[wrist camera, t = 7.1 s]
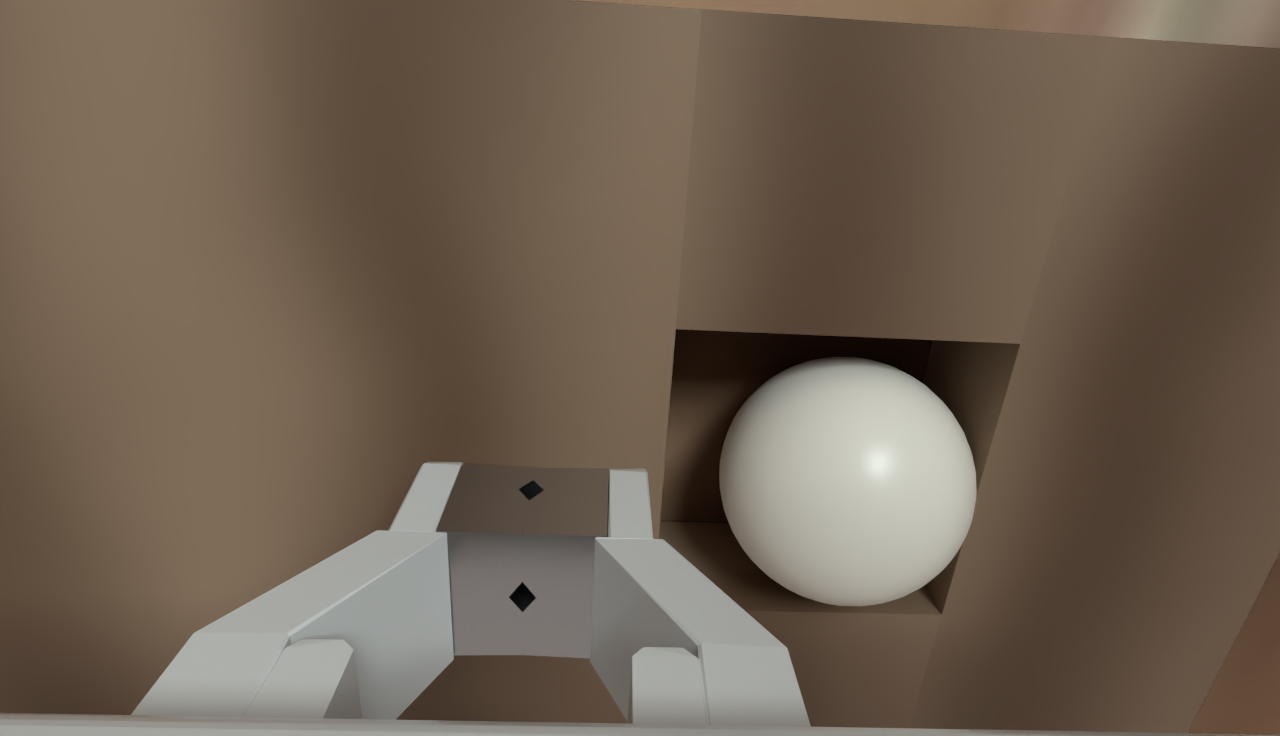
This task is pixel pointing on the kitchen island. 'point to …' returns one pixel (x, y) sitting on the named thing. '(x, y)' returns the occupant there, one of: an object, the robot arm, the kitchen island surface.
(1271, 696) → the kitchen island surface
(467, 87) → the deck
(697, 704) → the robot arm
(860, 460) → the ball
